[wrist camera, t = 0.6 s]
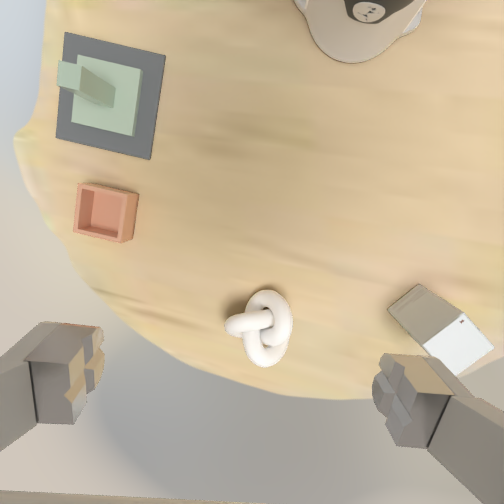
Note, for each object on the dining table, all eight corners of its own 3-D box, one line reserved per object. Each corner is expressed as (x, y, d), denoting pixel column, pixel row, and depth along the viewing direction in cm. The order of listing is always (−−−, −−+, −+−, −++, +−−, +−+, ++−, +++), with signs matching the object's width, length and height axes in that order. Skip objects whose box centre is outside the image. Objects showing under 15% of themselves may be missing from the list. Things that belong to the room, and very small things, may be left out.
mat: (66, 33, 48) (64, 31, 47) (165, 56, 48) (164, 55, 47) (57, 138, 51) (55, 137, 51) (150, 160, 51) (149, 159, 51)
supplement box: (385, 309, 54) (420, 344, 42) (419, 282, 53) (465, 310, 41) (410, 337, 55) (452, 380, 43) (444, 311, 54) (497, 348, 42)
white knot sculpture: (251, 271, 54) (248, 287, 45) (308, 303, 55) (317, 325, 46) (221, 321, 56) (213, 346, 48) (276, 352, 57) (278, 381, 48)
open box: (93, 183, 52) (78, 182, 48) (139, 194, 52) (127, 194, 48) (88, 228, 54) (72, 232, 49) (132, 238, 54) (120, 243, 49)
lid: (81, 57, 48) (33, 23, 38) (143, 71, 48) (111, 41, 38) (75, 123, 50) (28, 107, 40) (134, 137, 50) (102, 124, 40)
